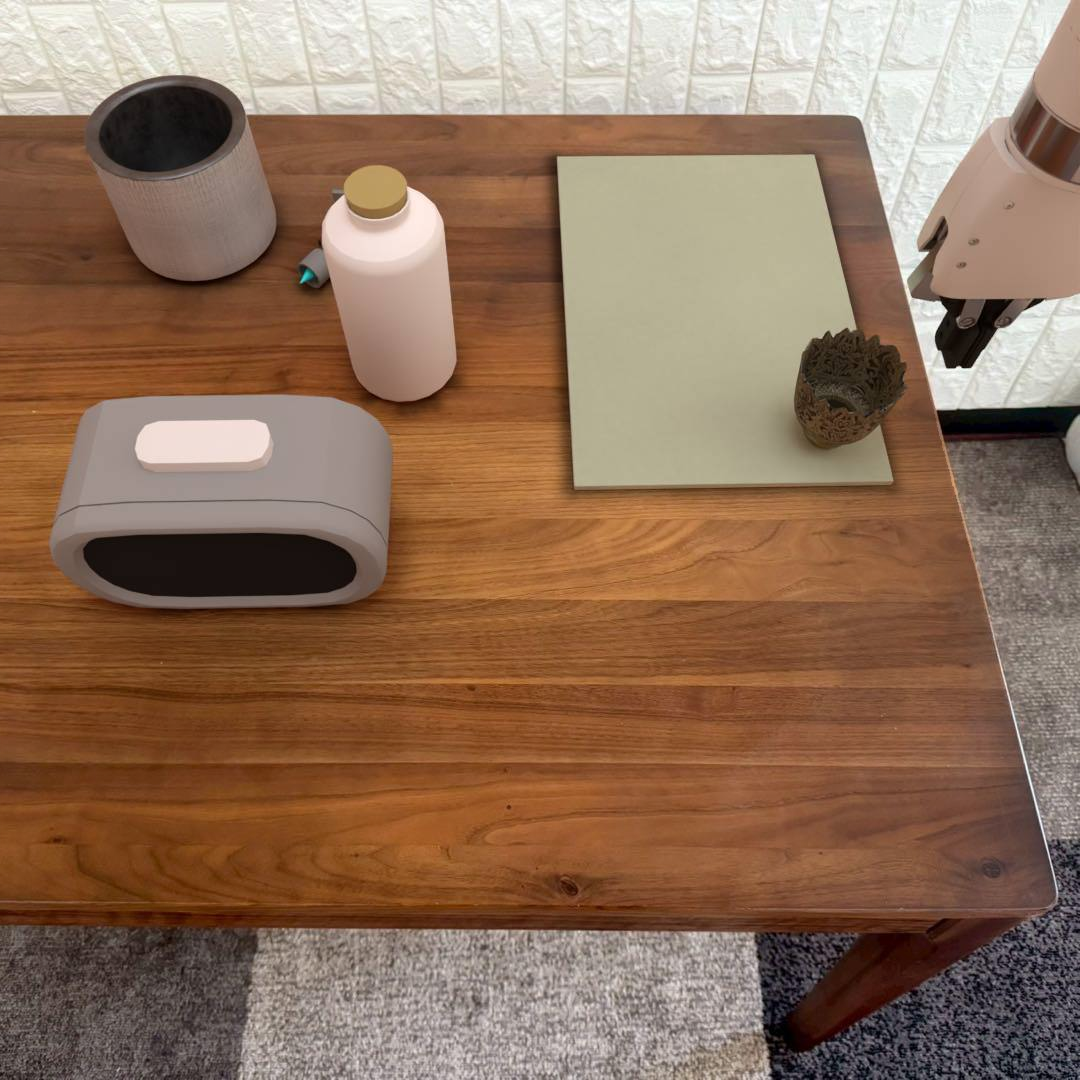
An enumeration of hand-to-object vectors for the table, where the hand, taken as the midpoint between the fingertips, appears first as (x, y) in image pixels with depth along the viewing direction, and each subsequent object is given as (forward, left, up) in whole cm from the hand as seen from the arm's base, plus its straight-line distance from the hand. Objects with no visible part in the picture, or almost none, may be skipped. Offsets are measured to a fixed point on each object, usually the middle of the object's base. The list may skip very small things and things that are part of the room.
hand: (953, 352), depth 66 cm
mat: (+13, +14, -10) cm, 22 cm away
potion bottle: (+7, +39, -10) cm, 41 cm away
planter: (+22, +57, -10) cm, 62 cm away
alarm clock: (-10, +49, -10) cm, 51 cm away
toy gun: (+18, +42, -10) cm, 47 cm away
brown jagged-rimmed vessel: (0, +6, -9) cm, 11 cm away
